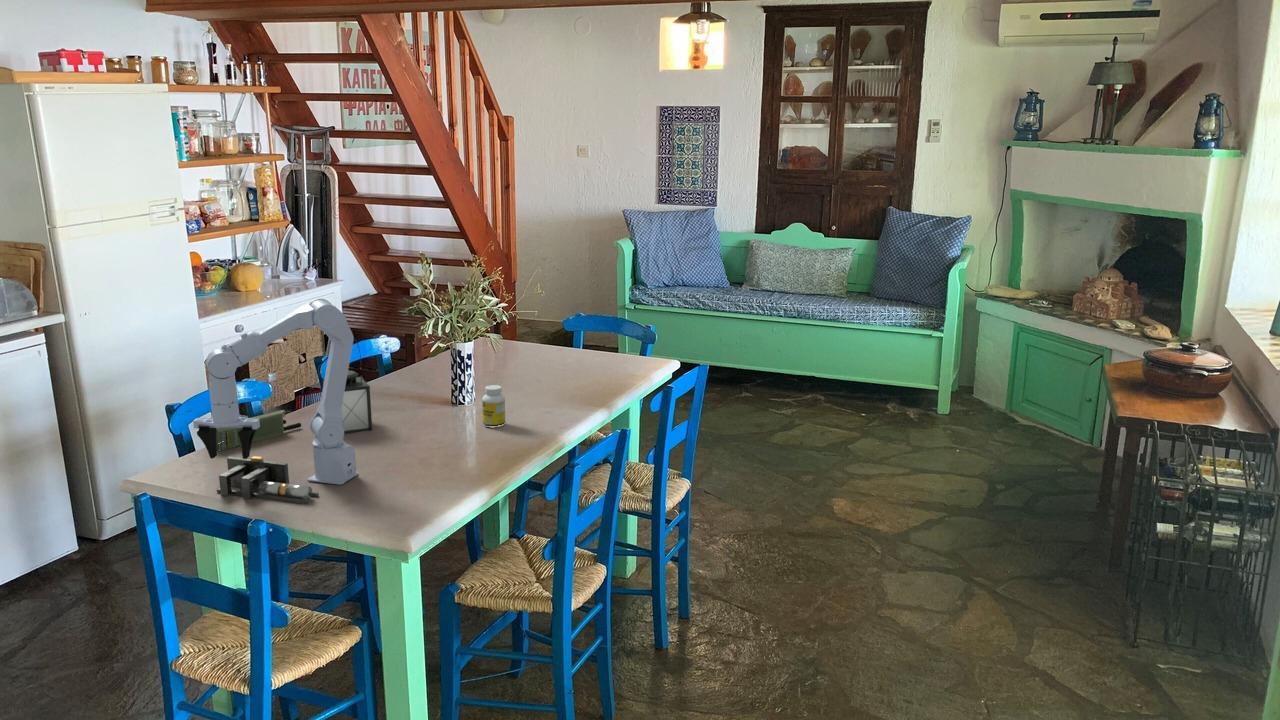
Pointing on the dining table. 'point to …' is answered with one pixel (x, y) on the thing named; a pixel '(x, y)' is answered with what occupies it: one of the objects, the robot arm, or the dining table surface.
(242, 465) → the collar fixture
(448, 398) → the dining table surface
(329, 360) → the robot arm
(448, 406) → the dining table surface
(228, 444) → the handheld radio
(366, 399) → the lantern
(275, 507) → the dining table surface
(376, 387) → the dining table surface
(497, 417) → the pill bottle
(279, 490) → the tube
